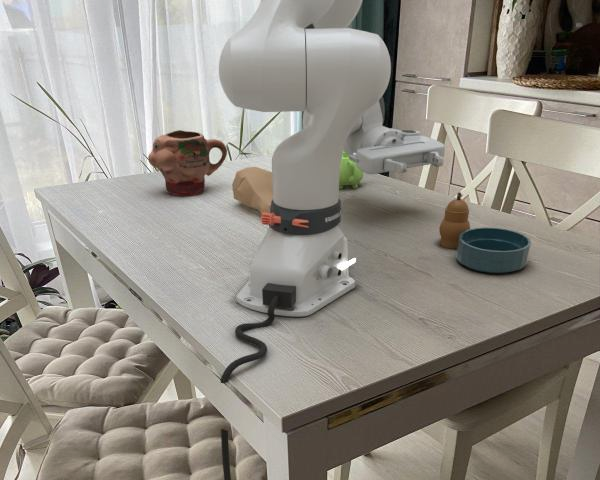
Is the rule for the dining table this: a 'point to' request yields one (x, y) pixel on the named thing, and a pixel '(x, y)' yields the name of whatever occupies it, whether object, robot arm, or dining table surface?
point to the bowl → (493, 250)
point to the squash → (254, 188)
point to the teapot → (349, 172)
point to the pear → (454, 222)
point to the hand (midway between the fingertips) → (422, 165)
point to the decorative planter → (185, 160)
